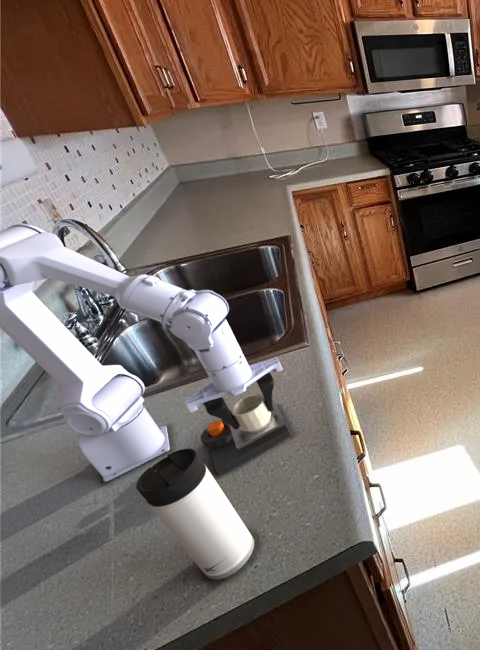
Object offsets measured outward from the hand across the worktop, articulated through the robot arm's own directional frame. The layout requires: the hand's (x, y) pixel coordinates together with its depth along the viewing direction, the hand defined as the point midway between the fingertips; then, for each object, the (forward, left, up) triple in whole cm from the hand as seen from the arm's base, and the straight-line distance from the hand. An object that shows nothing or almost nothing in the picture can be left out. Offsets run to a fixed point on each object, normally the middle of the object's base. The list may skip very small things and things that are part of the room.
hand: (253, 416), depth 77 cm
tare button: (-6, +4, -2) cm, 8 cm away
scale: (-2, +1, -5) cm, 5 cm away
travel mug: (-9, -21, -5) cm, 23 cm away
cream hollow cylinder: (0, 0, -1) cm, 1 cm away
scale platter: (0, 0, -2) cm, 2 cm away
